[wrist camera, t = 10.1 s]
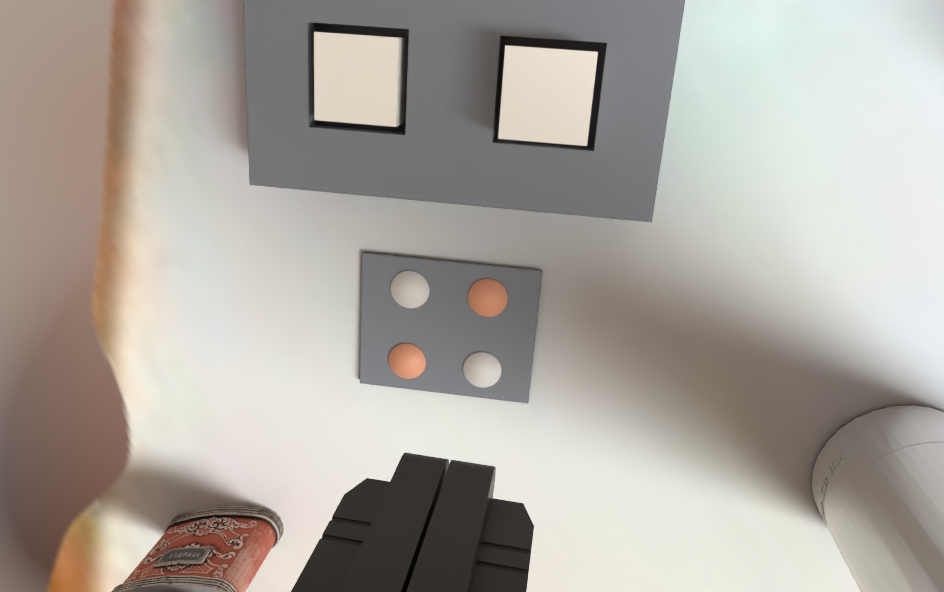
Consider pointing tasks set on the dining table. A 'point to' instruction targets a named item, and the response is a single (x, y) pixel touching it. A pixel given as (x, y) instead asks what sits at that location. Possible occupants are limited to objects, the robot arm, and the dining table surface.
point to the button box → (466, 103)
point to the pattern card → (448, 326)
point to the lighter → (208, 551)
